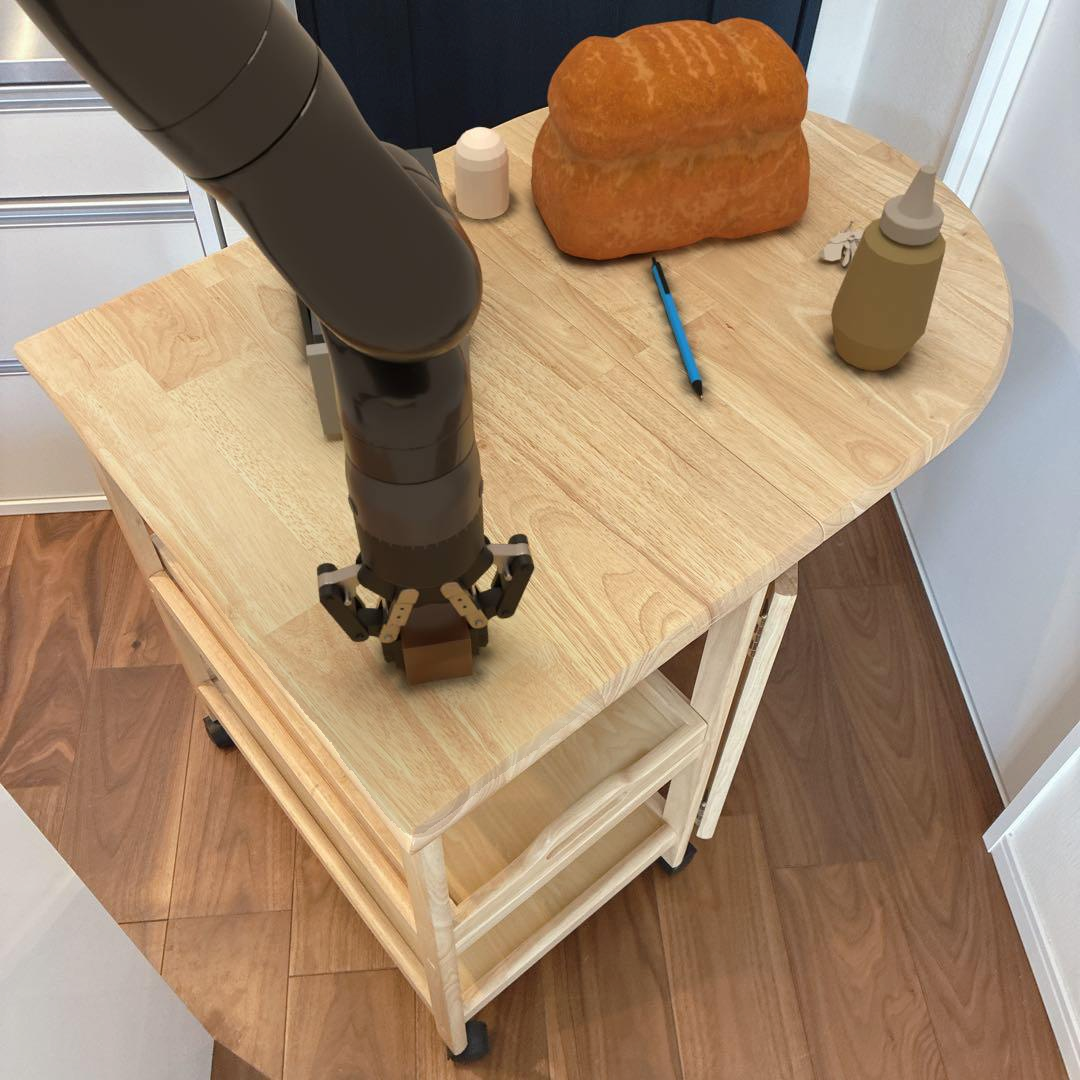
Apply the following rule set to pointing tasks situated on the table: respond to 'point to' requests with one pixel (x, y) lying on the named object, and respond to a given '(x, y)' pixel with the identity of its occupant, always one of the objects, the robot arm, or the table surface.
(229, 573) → the table surface
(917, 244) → the squeeze bottle
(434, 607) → the block
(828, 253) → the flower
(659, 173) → the bread
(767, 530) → the table surface
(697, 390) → the pen
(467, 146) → the white domed cylinder
